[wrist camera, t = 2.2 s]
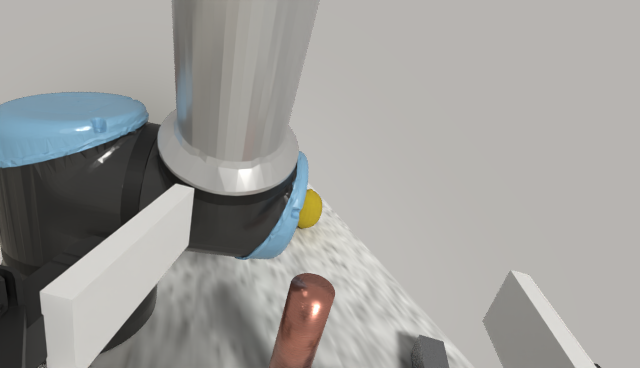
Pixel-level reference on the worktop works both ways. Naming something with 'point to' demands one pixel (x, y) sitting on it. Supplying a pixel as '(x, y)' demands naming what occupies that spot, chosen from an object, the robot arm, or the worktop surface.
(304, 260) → the worktop surface
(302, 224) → the lemon
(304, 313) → the lever
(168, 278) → the worktop surface
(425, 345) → the gray bar
